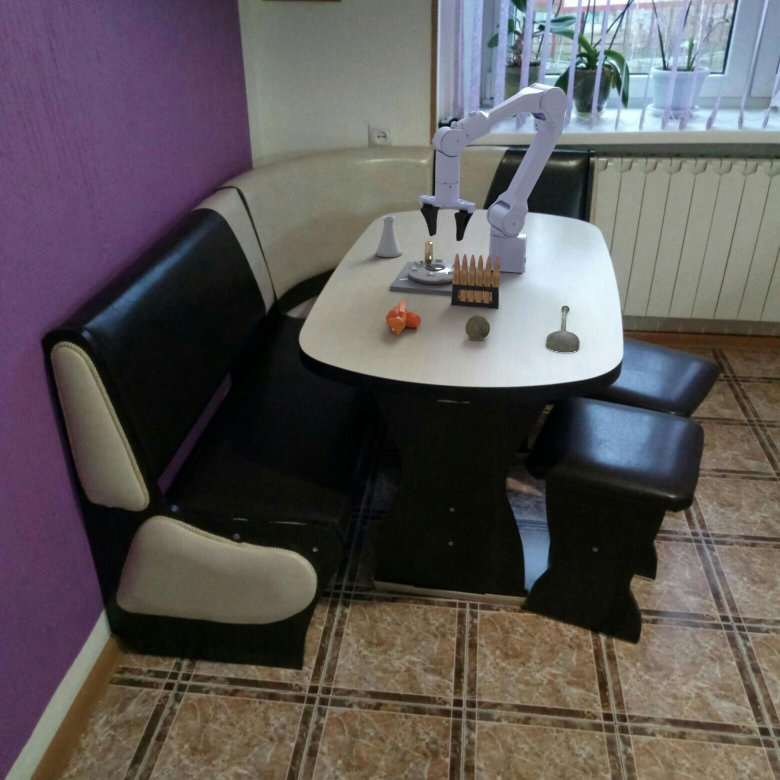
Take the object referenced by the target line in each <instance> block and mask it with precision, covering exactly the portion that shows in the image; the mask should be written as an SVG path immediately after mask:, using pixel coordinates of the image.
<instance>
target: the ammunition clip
mask: <svg viewBox="0 0 780 780" xmlns="http://www.w3.org/2000/svg"><path fill="white" fill-rule="evenodd" d="M482 255H483V254H480V256H479V257H478V260H477V261H478V262H477V271H475V267H476V257H475V255H474V254H472V255H471V257H470V261H469V266H470V269H469V276H468V267H467V266H468V257H467V256H468V255H467V254H466V253H464V255H463V257H462V260H461V261H462V262H460V257H459V256H460V255H459V253H456V255H455V257H454V260H453V262H454V270H453V286H452V295H451V298H450V299H451V300H450V306H452V307H465V306H466V307H468V308H476V309H477V308H479V309H480V308H481V309H490V310H491V309H492V310H493V309H494V310H498V309H499V307H500V283H501V282H500V280H501V279H500V278H501V273H500V272H501V271H500V269H499V267H500V263H499V257H498V256H497V257H496V259H495V263H494V271H493V272H492V271H491V258H490V255H489V254H488V256H487V259H486V262H485V263H486V264H485V267H486V270H485V269H484V258H483V256H482ZM460 263H461V264H460ZM460 265H462V270H461V280H460ZM484 270H485V271H484ZM467 290H468V291H467Z"/></svg>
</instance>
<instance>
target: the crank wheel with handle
mask: <svg viewBox="0 0 780 780" xmlns="http://www.w3.org/2000/svg"><path fill="white" fill-rule="evenodd" d="M413 262H414V263H412V264H411V265H410V266H409V278H410V279H412V280H414V281H416V282H419V283H423V284H434V285H437V284H448V283H452V282H453V270H454V260H453V261H452V260H449V259H444V257H437V256H436V257H435V258H434V241H429V240H427V241H424V259H415V260H414V261H413ZM461 270H462V267H461V266H460V278H461Z"/></svg>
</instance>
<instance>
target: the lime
mask: <svg viewBox="0 0 780 780" xmlns="http://www.w3.org/2000/svg"><path fill="white" fill-rule="evenodd" d="M464 329H465V333H466V335H467V337H468V338H469V339H470V340H472V341H481V340H482V341H483V340H484V339H486V338H487V337H488V336H489V334H490V331H491V324H490V322H489V320H488V319H487V318H486V317H485V316H483V315H480V314H476V315H475V314H474V315H472V316H471V317H469V318H468V319H467V322H466V323H465V326H464Z"/></svg>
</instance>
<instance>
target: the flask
mask: <svg viewBox="0 0 780 780" xmlns="http://www.w3.org/2000/svg"><path fill="white" fill-rule="evenodd" d="M395 218H396V217H395V216H391V215H385V216H382V220H383V229H382V233H381V236H380V240H379V243H378V246H377V248H376V251H375V253H376V256H377V257H383V258H395V257H396V258H398V257H399V256H401V255H402V254H403V251H402V248H401V246H400V245H401V244H400V243H399V240H398V237H397V234H396V230H395V226H394V225H395V224H394V222H395V221H396V219H395Z"/></svg>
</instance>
